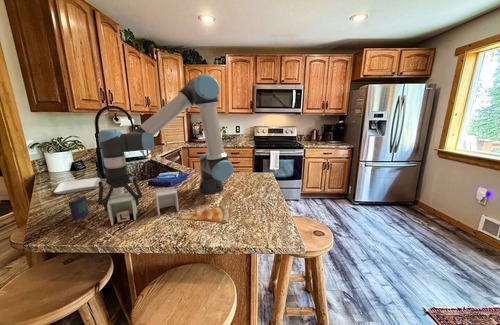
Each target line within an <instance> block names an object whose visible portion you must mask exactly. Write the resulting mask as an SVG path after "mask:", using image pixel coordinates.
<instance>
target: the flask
mask: <svg viewBox="0 0 500 325" xmlns="http://www.w3.org/2000/svg"><path fill="white" fill-rule="evenodd" d="M68 206H69V209H70V214H71V218H72V221H73V222H75V221H78V220H80V219H82V218H83V217H85V216H86V215H87V214H88V213H89V212H90V211H89V207H88V202H87V197H86V194H81V193H79V194H75V197H74V198H73V199H70V200H69V201H68Z"/></svg>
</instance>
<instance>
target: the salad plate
mask: <svg viewBox="0 0 500 325" xmlns="http://www.w3.org/2000/svg"><path fill="white" fill-rule="evenodd" d="M100 180H101V179H100V177H93V178H92V177H91V178H84V179H83V178H82V179H75V180H69V181H63V182H60V183H58V186H57V187H56V188H55V190H53V193H54V194H56V195H65V194H66V193H67V194H72V193H77V192H78V193H79V192H85V191H91V190H94V189H97V188H99V185H98V183H99V181H100Z"/></svg>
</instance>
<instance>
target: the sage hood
mask: <svg viewBox="0 0 500 325" xmlns="http://www.w3.org/2000/svg"><path fill="white" fill-rule="evenodd" d="M133 198H134V197H133V196H132V195H131V194H130V193H129V192H126V193H125V192H124V194H119V195H113V194H112V195H111V196H110V198H109V200H108V203H107V204H108V209H109V213H108V216H109V215H110V219H109V220H110V224H111V226H114V222H115V218H117V214H116V212H117V209H121V208H126V207H129V212H130V214H133V220H134V221H137V214H135V208H134V201H133Z"/></svg>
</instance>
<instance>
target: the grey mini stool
mask: <svg viewBox="0 0 500 325" xmlns="http://www.w3.org/2000/svg"><path fill="white" fill-rule="evenodd" d="M154 195H155V204H156V209H157V210H156V211H157V214H158V216H160V217H161V212H160V209H163V208H168V207H173V206H174V208H175V209H176V212H180V208H179V199H178V196H179V195H178V191H177V189H176V187H175V186H168V187H162V188H157V189H156V188H155V189H154Z"/></svg>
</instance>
